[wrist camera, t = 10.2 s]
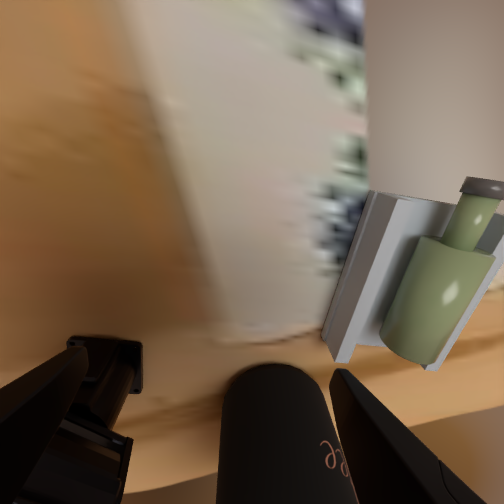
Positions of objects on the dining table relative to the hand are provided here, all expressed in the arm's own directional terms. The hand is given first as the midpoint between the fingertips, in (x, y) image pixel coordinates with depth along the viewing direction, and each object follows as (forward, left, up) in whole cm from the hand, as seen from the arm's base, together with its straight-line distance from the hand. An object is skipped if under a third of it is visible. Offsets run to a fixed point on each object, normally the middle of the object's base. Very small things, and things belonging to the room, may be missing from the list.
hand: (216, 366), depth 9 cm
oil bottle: (+1, -15, -11) cm, 19 cm away
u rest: (-1, -15, -12) cm, 19 cm away
